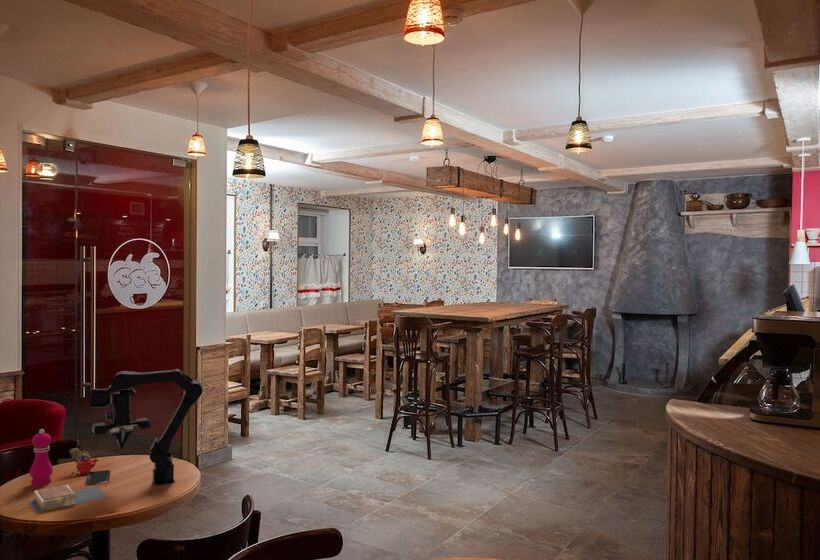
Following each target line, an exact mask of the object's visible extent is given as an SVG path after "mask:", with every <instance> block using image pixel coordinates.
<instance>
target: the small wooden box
mask: <svg viewBox="0 0 820 560" xmlns="http://www.w3.org/2000/svg"><path fill="white" fill-rule="evenodd" d="M73 491H74V490H73V489H72V488H71V487H70V486H69V485H68V484H62V485H59V486H57V485H56V486H52V487H51V486H50V487H46V488H42V489H37V490H34V497H33V498H34V500H35V501H36V503H37V504H38V506H39V507H40V509H41V510H42V511H43V512H45V511H44V510H48V511H50V510H49V509H53V508H57V509H59V508H58V507H62V508H64V507H63V506H67V507H69V506H68V505H72V506H74V505H73V504H76V494H75V493H74V492H73ZM53 510H54V509H53Z"/></svg>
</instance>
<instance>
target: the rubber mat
mask: <svg viewBox="0 0 820 560" xmlns="http://www.w3.org/2000/svg"><path fill="white" fill-rule="evenodd" d="M72 491H73V492H74V493H75V494H76V504H73V505H68V506H63V507H58V508H53V509H49V510H44V511H42V510H41V509H40V507H39V506H38V504H37V503H36V501H35V500H34V497H33V498H30V499H29V498H28V499H26V502H27V503H28V504H29V507H31V509H32V511H33V512H34V513H35V514H37V513H43V512H48V511H52V510H56V509H61V508H66V507H71V506H75V505H80V504H86V503H91V502H95V501H100V500H104V499H105V500H106V499H108V498H109V497H108V496H107V495H106V494H105V492H104V491H102V490H101V488H100V487H99V486H97V485H93V486H88V487H86V488H80V489H75V490H72Z"/></svg>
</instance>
